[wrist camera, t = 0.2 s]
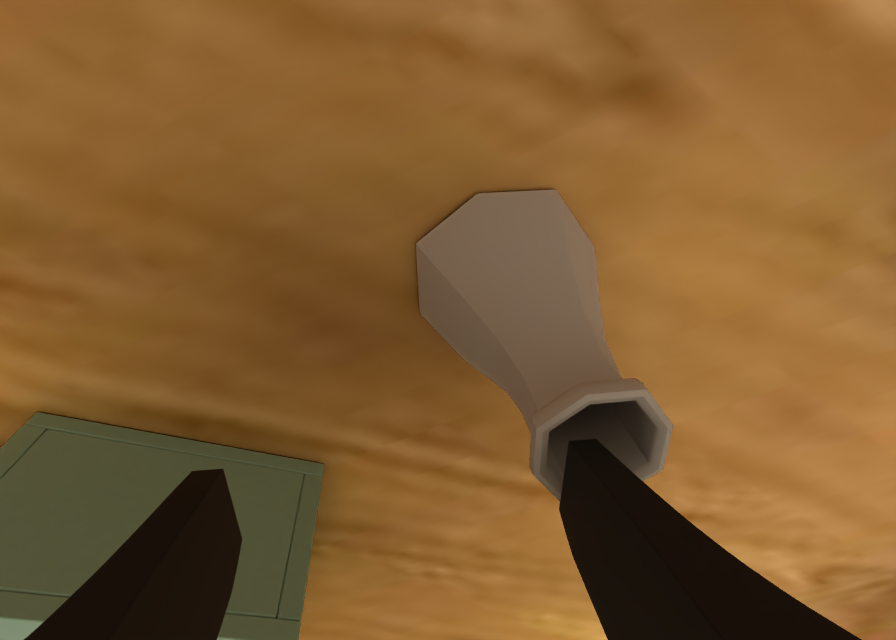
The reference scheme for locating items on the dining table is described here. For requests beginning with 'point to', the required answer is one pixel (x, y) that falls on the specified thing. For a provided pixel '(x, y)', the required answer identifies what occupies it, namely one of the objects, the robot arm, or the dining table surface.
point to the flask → (537, 328)
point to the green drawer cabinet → (144, 518)
